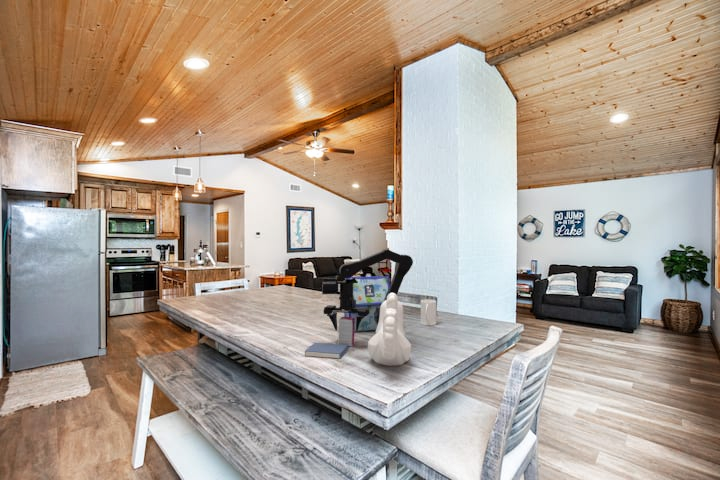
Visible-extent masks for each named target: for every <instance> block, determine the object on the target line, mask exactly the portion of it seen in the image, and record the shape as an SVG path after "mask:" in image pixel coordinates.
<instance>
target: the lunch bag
mask: <svg viewBox="0 0 720 480" xmlns="http://www.w3.org/2000/svg"><path fill="white" fill-rule="evenodd" d="M353 277H354V278H355V279H356V280H357V281H358V283H353V295H354V299H355V300H356V308H353V309H358V308H359V307H369V309H370V313H369V314H368V316H365V317H364V318H362V320H361V323H360V326H359V329H358V332H361V331H364V332H366V331H367V332H368V331H376V329H377V326H378V324H377V323H376V322H375V320H374V312H375V311H376V307H377V306H379V307H380V306H381V304H382V303H383V301H384V299H385V296H386V294H387V291H388V288H389V286H390V281H389V276H352V277H351V278H345V279H352V278H353ZM357 316H358V313H344V316H343V317H354V318H355V330H354V333H355V332H356V319H357Z"/></svg>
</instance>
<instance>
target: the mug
mask: <svg viewBox="0 0 720 480" xmlns="http://www.w3.org/2000/svg"><path fill="white" fill-rule="evenodd" d="M419 324H421V325H423V326H435V325H437V300H435V299H421V300H420V323H419Z"/></svg>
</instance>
